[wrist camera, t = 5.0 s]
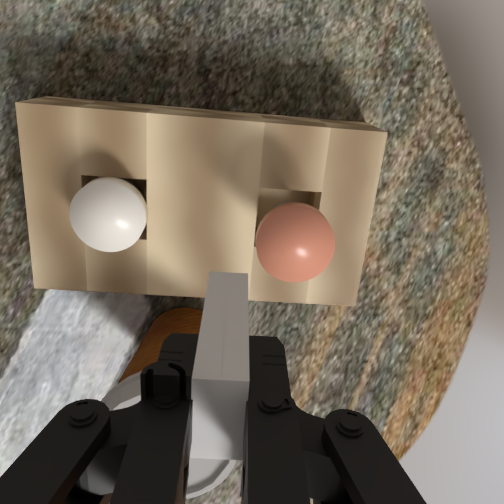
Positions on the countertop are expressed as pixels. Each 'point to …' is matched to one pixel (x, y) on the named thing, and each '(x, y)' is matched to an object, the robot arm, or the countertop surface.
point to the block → (194, 194)
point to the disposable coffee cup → (129, 391)
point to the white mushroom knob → (109, 214)
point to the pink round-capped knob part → (294, 242)
